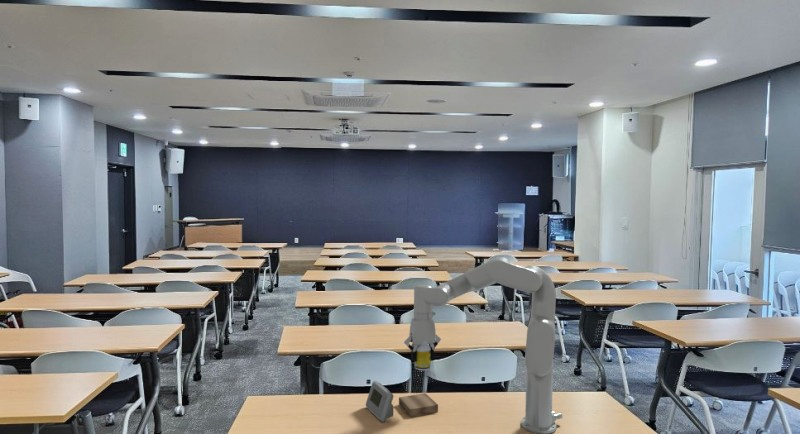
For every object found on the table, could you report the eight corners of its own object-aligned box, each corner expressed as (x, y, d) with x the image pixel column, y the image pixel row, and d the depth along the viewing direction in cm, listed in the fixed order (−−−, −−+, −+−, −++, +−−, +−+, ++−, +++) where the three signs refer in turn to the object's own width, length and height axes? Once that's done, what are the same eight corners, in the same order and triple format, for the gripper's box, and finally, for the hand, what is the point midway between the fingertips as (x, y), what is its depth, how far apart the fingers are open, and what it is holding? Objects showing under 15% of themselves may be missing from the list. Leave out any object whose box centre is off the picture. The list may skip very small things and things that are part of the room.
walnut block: (425, 400, 195) (425, 393, 195) (437, 412, 184) (438, 404, 183) (398, 404, 190) (399, 397, 190) (410, 417, 179) (410, 409, 179)
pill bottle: (429, 371, 182) (429, 342, 182) (413, 370, 184) (413, 341, 183) (431, 366, 189) (431, 338, 188) (415, 364, 190) (416, 336, 190)
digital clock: (364, 406, 189) (364, 380, 188) (386, 403, 191) (386, 378, 191) (373, 424, 173) (373, 396, 173) (396, 421, 176) (396, 394, 175)
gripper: (438, 311, 192) (437, 354, 193) (399, 315, 186) (399, 359, 186) (446, 316, 185) (445, 360, 186) (406, 319, 179) (406, 365, 179)
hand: (422, 359), depth 186 cm, fingers closed on pill bottle, 6 cm apart
